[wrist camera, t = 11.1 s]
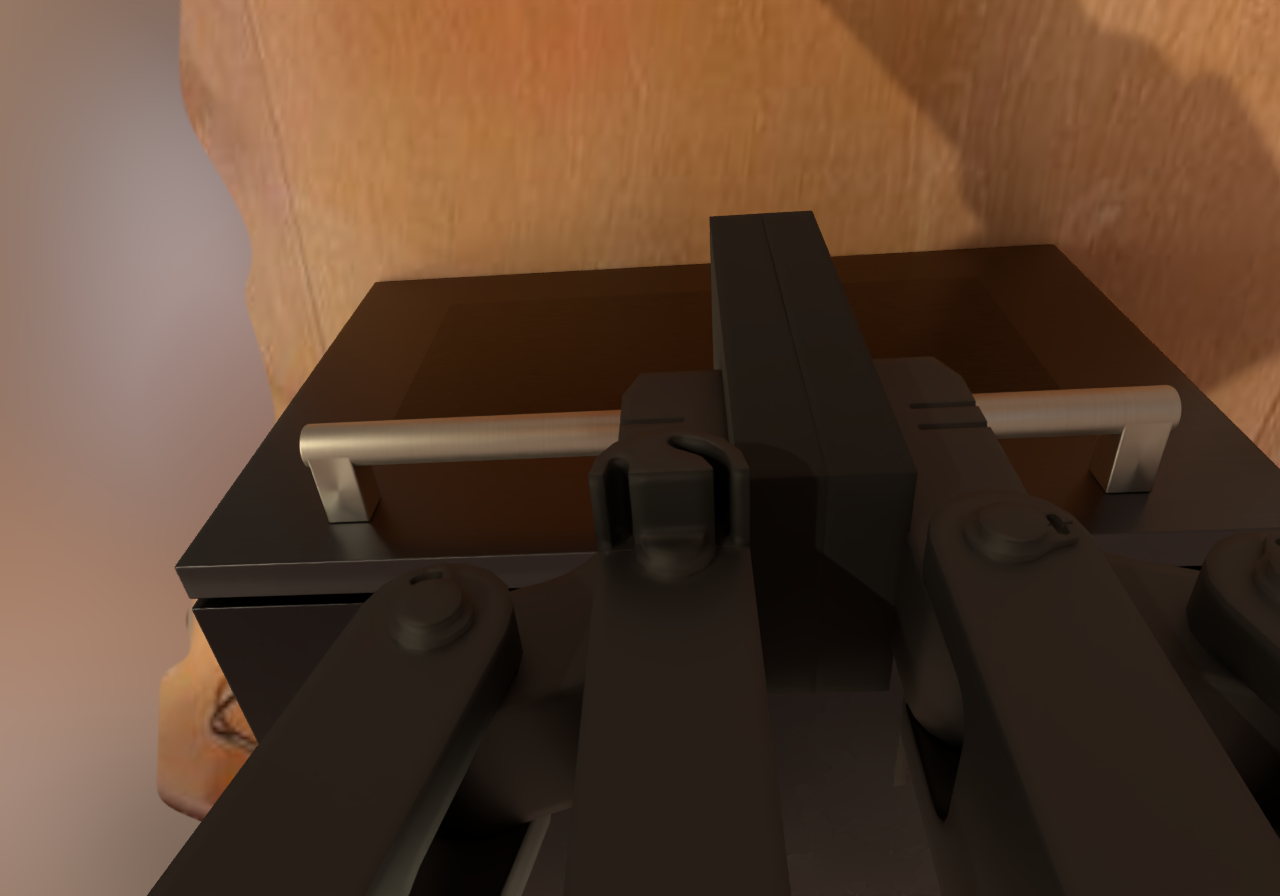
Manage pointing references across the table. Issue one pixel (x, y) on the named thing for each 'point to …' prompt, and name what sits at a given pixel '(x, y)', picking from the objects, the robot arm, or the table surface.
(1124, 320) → the oven door
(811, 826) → the oven
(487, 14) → the table surface
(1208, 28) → the table surface
